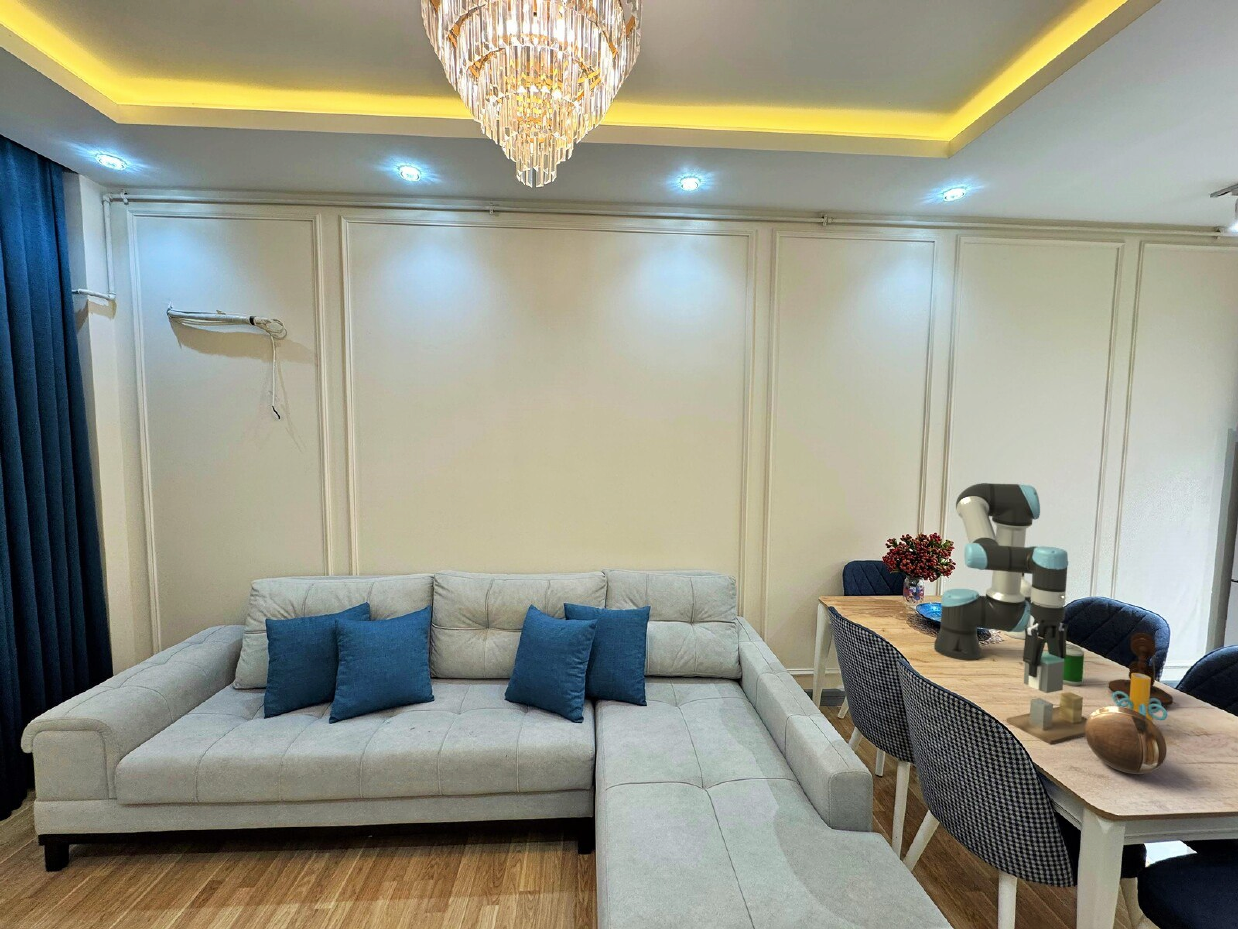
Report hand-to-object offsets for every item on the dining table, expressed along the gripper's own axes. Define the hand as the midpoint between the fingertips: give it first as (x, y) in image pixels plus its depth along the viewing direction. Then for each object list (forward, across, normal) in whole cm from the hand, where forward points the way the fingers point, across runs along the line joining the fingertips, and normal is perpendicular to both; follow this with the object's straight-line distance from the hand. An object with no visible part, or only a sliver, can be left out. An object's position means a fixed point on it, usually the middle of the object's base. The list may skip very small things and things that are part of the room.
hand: (1043, 685), depth 156 cm
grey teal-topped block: (0, 0, 0) cm, 0 cm away
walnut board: (+13, +6, 0) cm, 14 cm away
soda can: (+13, +39, +18) cm, 45 cm away
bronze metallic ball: (+13, +1, -19) cm, 23 cm away
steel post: (+13, 0, 0) cm, 13 cm away
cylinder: (+13, +27, -8) cm, 31 cm away
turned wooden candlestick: (+13, +48, +3) cm, 50 cm away
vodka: (+12, +64, +53) cm, 84 cm away
